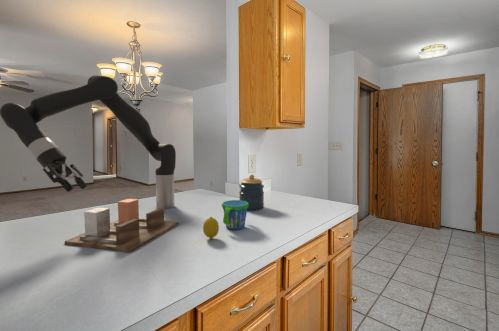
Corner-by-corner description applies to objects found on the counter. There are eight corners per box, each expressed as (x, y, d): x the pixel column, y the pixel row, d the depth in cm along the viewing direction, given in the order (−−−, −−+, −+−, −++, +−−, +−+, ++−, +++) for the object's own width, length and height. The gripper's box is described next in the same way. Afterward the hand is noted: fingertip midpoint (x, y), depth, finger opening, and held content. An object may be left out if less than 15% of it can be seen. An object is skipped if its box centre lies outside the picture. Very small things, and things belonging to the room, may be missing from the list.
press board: (64, 244, 91) (63, 223, 90) (126, 219, 120) (125, 203, 119) (131, 252, 85) (130, 230, 84) (179, 224, 113) (178, 207, 113)
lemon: (206, 242, 93) (205, 220, 92) (201, 237, 98) (201, 215, 97) (221, 240, 96) (221, 217, 95) (215, 235, 101) (215, 214, 100)
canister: (268, 207, 144) (268, 174, 142) (255, 212, 133) (256, 177, 131) (247, 204, 150) (247, 172, 149) (234, 209, 140) (234, 175, 138)
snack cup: (235, 235, 100) (235, 208, 100) (212, 230, 106) (212, 205, 105) (255, 224, 114) (256, 200, 113) (235, 220, 119) (235, 197, 118)
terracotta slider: (118, 223, 109) (117, 201, 108) (128, 219, 115) (128, 198, 114) (129, 224, 108) (128, 202, 107) (138, 220, 114) (138, 199, 113)
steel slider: (85, 237, 94) (84, 211, 93) (99, 231, 99) (97, 207, 99) (97, 238, 92) (96, 212, 92) (110, 232, 98) (109, 208, 97)
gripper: (41, 145, 88) (75, 183, 89) (68, 147, 102) (96, 180, 103) (23, 160, 88) (56, 198, 88) (52, 160, 102) (81, 193, 103)
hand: (78, 188), depth 96 cm, fingers open, 8 cm apart
